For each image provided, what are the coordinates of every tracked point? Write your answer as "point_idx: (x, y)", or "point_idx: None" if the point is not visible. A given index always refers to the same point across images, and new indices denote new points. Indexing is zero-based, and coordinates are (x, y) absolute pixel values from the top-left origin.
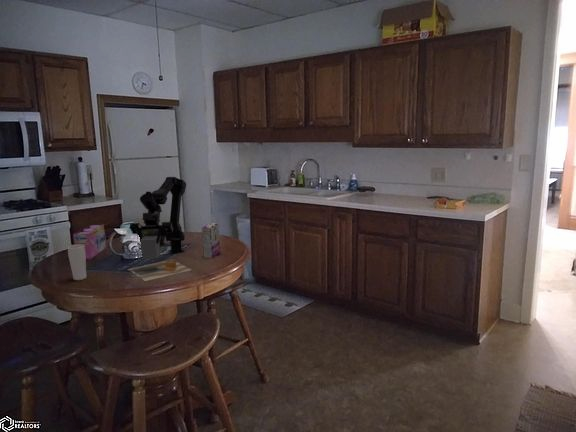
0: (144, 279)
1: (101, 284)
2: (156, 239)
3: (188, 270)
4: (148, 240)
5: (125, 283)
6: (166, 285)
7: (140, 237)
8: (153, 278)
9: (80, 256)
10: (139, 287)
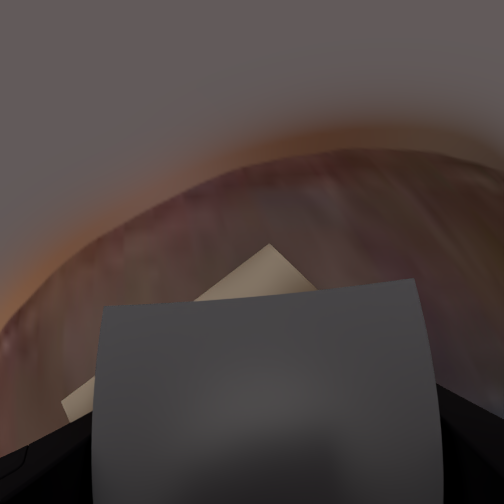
0: (282, 266)
1: (466, 221)
2: (108, 404)
3: (73, 393)
4: (237, 304)
5: (368, 232)
6: (160, 215)
7: (485, 423)
8: (234, 280)
9: None
10: (273, 191)
